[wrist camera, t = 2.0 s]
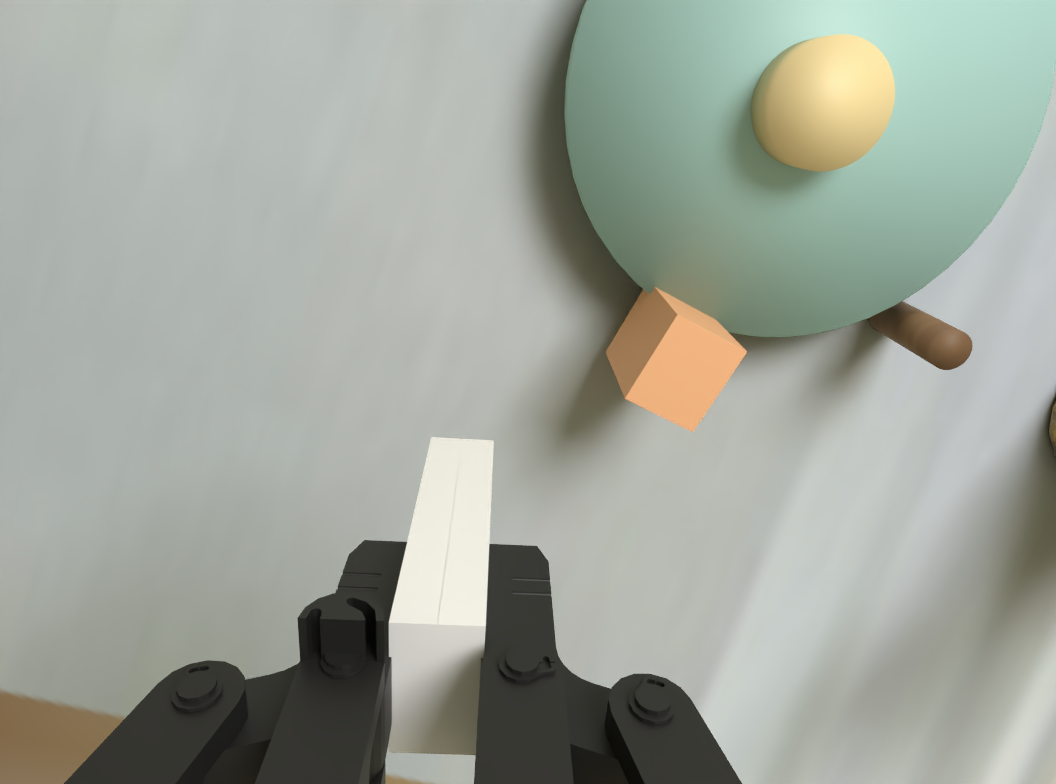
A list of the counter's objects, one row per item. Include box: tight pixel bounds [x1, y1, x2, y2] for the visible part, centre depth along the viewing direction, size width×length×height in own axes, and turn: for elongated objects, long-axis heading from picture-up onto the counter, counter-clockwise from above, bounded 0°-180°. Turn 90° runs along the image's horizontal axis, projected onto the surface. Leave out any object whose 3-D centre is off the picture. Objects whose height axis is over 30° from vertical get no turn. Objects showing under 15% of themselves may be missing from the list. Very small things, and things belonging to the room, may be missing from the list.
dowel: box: [869, 301, 972, 370], centre depth 30 cm, size 2×2×5 cm
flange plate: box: [564, 0, 1056, 432], centre depth 25 cm, size 18×21×5 cm
